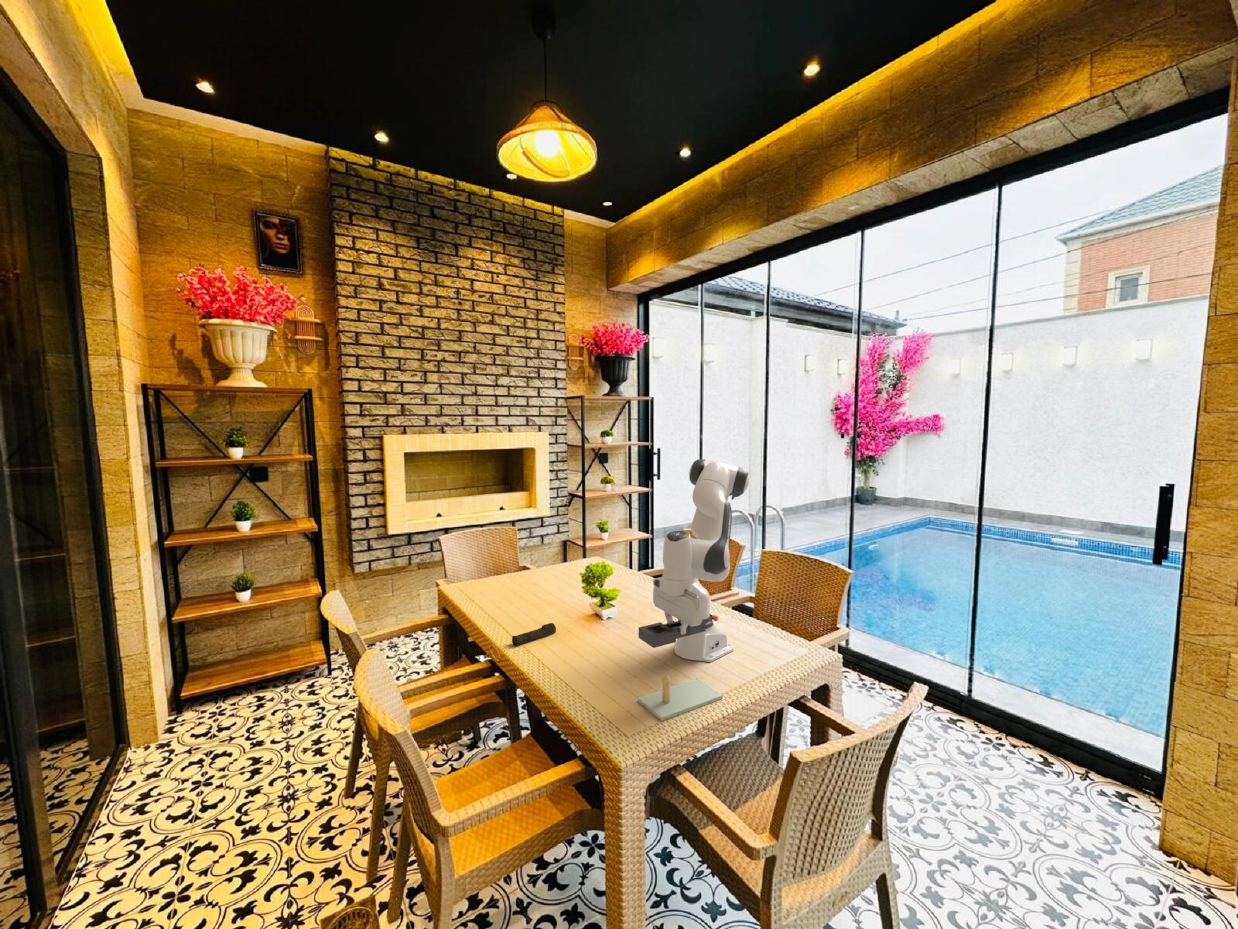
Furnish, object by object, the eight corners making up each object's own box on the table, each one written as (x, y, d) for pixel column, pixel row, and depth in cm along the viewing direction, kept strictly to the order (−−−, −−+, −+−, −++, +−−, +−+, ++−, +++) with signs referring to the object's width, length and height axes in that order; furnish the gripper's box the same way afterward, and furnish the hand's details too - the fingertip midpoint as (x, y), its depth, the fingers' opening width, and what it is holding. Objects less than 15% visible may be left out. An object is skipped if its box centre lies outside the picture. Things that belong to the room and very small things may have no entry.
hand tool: (516, 648, 186) (516, 636, 185) (511, 644, 189) (511, 632, 189) (559, 635, 198) (559, 624, 197) (554, 632, 201) (554, 621, 200)
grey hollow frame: (653, 648, 143) (653, 637, 142) (638, 637, 149) (638, 627, 149) (709, 633, 153) (709, 623, 153) (692, 624, 160) (693, 614, 160)
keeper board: (696, 681, 162) (697, 655, 162) (722, 698, 152) (723, 670, 151) (638, 701, 150) (638, 672, 150) (661, 721, 140) (662, 690, 139)
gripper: (707, 593, 143) (706, 640, 144) (665, 575, 161) (665, 617, 162) (690, 597, 140) (689, 645, 141) (649, 578, 158) (649, 620, 159)
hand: (676, 630), depth 152 cm, fingers closed on grey hollow frame, 4 cm apart
